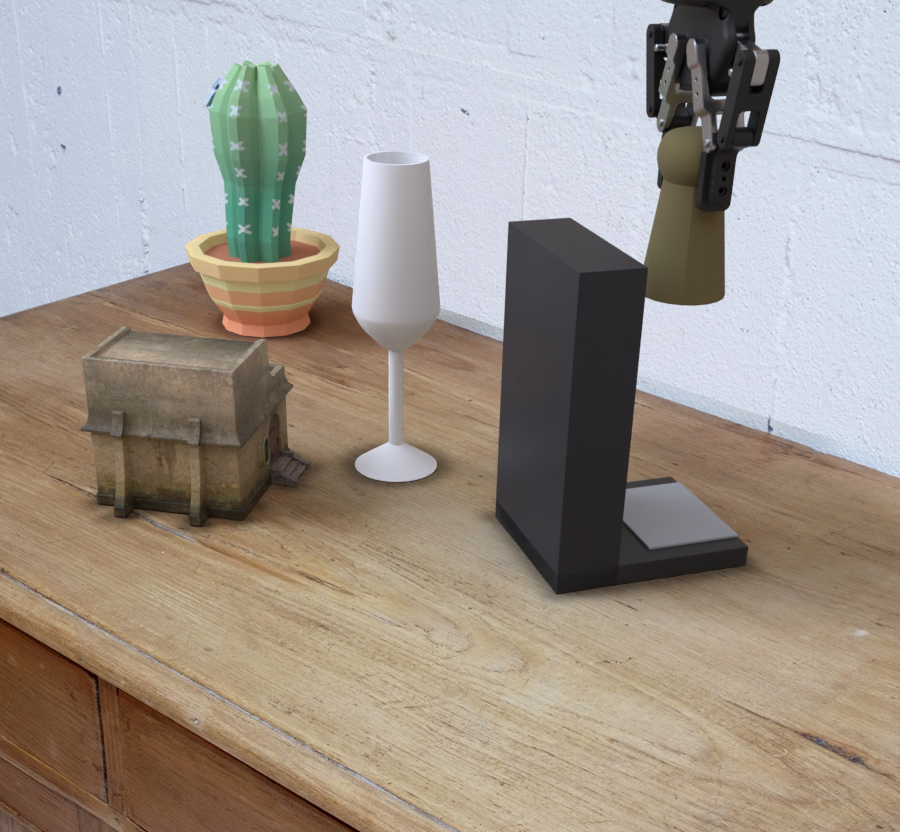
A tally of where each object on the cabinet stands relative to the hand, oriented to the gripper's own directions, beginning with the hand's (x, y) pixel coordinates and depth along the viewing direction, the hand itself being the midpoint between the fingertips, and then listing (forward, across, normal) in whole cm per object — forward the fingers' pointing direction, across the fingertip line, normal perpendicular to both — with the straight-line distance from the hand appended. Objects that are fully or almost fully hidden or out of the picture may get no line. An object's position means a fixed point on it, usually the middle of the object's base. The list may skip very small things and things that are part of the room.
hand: (692, 198), depth 89 cm
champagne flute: (+23, +13, +17) cm, 32 cm away
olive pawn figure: (+7, 0, 0) cm, 7 cm away
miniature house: (+23, +14, +32) cm, 42 cm away
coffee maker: (+23, -4, +6) cm, 24 cm away
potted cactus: (+23, +50, +20) cm, 59 cm away
